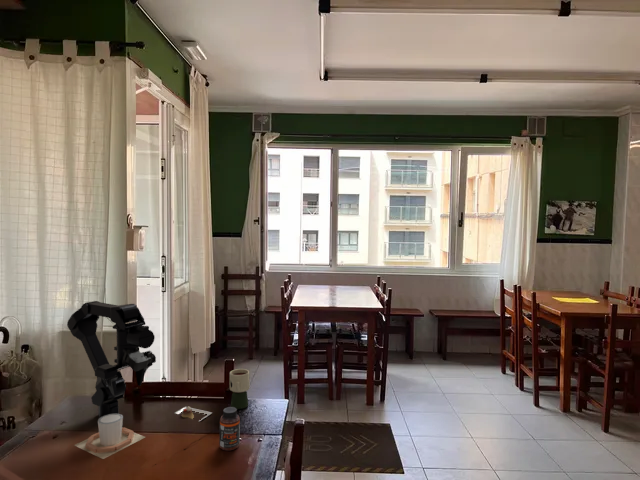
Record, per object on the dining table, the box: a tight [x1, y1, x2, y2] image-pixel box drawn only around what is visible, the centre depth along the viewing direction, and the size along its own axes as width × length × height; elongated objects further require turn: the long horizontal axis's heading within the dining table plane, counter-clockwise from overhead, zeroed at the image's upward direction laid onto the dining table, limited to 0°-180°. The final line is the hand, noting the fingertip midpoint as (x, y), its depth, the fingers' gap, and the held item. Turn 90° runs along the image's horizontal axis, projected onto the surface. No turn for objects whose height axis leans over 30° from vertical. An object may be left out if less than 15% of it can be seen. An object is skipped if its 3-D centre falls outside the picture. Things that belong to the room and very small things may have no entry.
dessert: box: [174, 405, 213, 422], centre depth 147 cm, size 12×12×5 cm
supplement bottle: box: [218, 406, 241, 452], centre depth 129 cm, size 6×6×11 cm
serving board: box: [73, 432, 146, 460], centre depth 129 cm, size 14×14×1 cm
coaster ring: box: [86, 426, 135, 453], centre depth 129 cm, size 12×12×1 cm
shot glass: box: [97, 413, 124, 446], centre depth 129 cm, size 7×7×7 cm
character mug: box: [228, 368, 250, 410], centre depth 156 cm, size 11×7×13 cm, turn 4°
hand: (127, 390), depth 140 cm, fingers open, 9 cm apart
